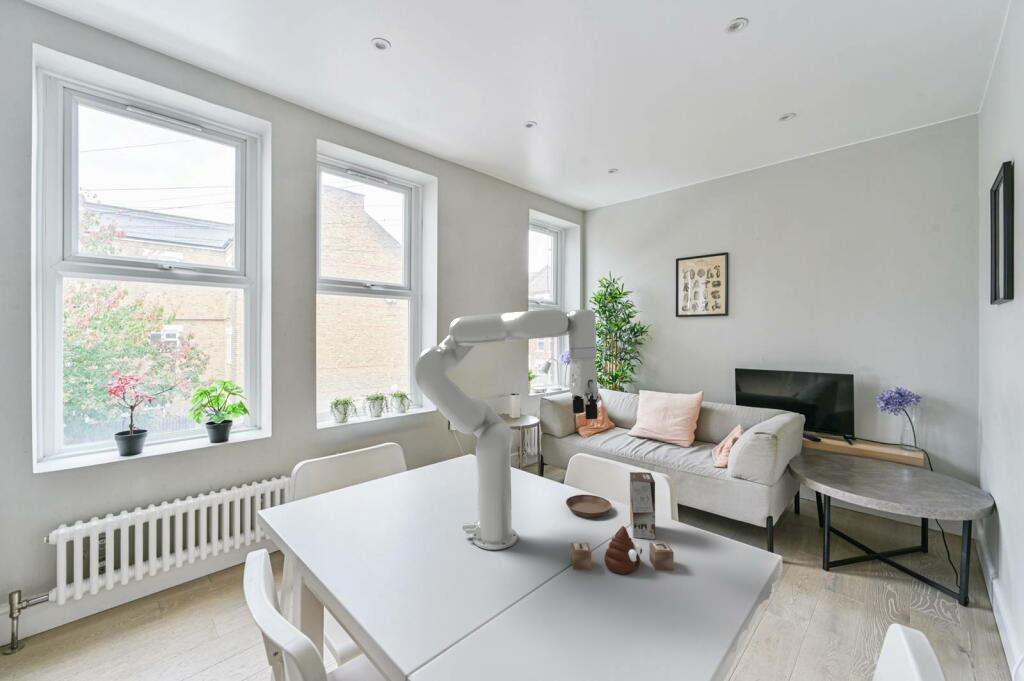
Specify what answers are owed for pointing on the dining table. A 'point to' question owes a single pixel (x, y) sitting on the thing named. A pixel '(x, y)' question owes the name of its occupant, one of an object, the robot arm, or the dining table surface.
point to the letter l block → (661, 556)
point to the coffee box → (642, 505)
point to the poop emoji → (622, 553)
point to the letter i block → (581, 556)
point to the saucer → (588, 505)
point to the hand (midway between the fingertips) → (584, 415)
